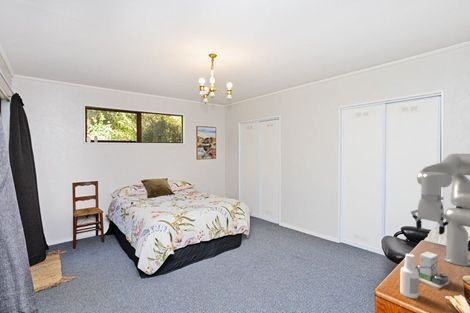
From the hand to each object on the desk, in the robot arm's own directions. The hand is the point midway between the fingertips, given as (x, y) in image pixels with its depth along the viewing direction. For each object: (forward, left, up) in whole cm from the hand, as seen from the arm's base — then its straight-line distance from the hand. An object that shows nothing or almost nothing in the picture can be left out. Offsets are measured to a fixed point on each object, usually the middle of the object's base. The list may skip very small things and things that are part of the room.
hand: (429, 231), depth 128 cm
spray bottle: (+25, +3, -25) cm, 35 cm away
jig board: (+1, 0, -24) cm, 24 cm away
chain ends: (+1, 0, -24) cm, 24 cm away
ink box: (+1, 0, -24) cm, 24 cm away
